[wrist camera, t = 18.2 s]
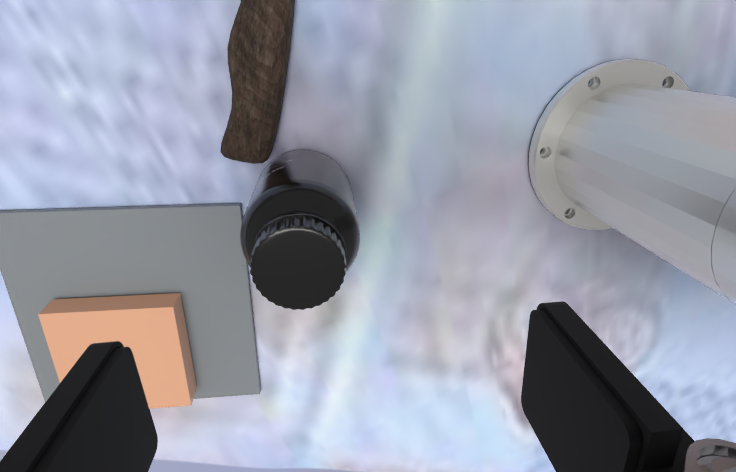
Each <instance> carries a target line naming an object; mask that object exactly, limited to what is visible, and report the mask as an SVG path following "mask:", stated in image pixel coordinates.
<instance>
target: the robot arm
mask: <svg viewBox="0 0 736 472" xmlns="http://www.w3.org/2000/svg"><path fill="white" fill-rule="evenodd" d="M589 80H590V83H589V85H588V82H589ZM542 148H543V150H542V152H541V153H540V150H541V149H542ZM529 173H530V178H531V183H532V186H533V188H534V190H535V193H536V195H537V197H538V199H539V200H540V201H541V203H542V204H543V205H544V207H545V208H546V209H547V210H548V211H550V212H551V213H552V214H553V215H554V216H556V217H557V218H558V219H560V220H561V221H563V222H565V223H567V224H569V225H572V226H575V227H577V228H582V229H588V230H605V229H610V228H614V229H615V230H617V231H619V232H620V233H622V234H623V235H625V236H627V237H628V238H630V239H631V240H633V241H635V242H636V243H638V244H639V245H641V246H643V247H644V248H646V249H647V250H649V251H651V252H652V253H654V254H655V255H657V256H659V257H660V258H662V259H663V260H665V261H667V262H668V263H670V264H671V265H673V266H675V267H676V268H678V269H679V270H681V271H683V272H684V273H686V274H687V275H689V276H691V277H692V278H694V279H695V280H697V281H699V282H700V283H702V284H704V285H705V286H707V287H708V288H710V289H712V290H713V291H715V292H716V293H718V294H720V295H721V296H723V297H725V298H726V299H728V300H730V301H731V302H733V303H734V304H736V97H730V96H722V95H715V94H708V93H700V92H693V91H690V90H689V88H688V86H687V85H686V84H685V83H684V82H683V80H682V79H681V78H680V77H679V76H678V75H677V74H676V73H674V72H673V71H672V70H670V69H669V68H667V67H666V66H663V65H660V64H658V63H655V62H652V61H645V60H637V59H620V60H615V61H610V62H605V63H602V64H600V65H597V66H595V67H593V68H590V69H588V70H586V71H585V72H583V73H581V74H580V75H578V76H577V77H575V78H574V79H572V80H571V81H570V82H569V83H568V84H567V85H565V86H564V87H563V88H562V89H561V90H560V91H559V92H558V93H557V94H556V96H555V97H554V98H553V99H552V101H551V102H550V103H549V104H548V106H547V107H546V109H545V111H544V112H543V114H542V116H541V118H540V119H539V121H538V123H537V126H536V129H535V131H534V134H533V137H532V141H531V146H530V152H529ZM521 402H522V408H523V411H524V413H525V415H526V417H527V419H528V421H529V423H530V424H531V426H532V428H533V430H534V432H535V434H536V436H537V437H538V439H539V441H540V443H541V445H542V447H543V448H544V450H545V452H546V454H547V456H548V458H549V460H550V461H551V463H552V465H553V467H554V469H555V471H556V472H736V443H733V442H729V441H725V440H721V439H708V438H707V439H702V440H697V441H694V440H693V439H692V438H691V437H690V436H689V435H688V434H687V433H686V432H685V430H684V429H683V428H682V427H681V426H680V425H679V424H678V423H677V422H676V420H675V419H674V418H673V417H672V416H671V415H670V414H669V413H668V412H667V411H666V410H665V409H664V408H663V406H662V405H661V404H660V403H659V402H658V401H657V400H656V399H655V398H654V397H653V396H652V395H651V393H650V392H649V391H648V390H647V389H646V388H645V387H644V386H643V385H642V384H641V383H640V382H639V381H638V379H637V378H636V377H635V376H634V375H633V374H632V373H631V372H630V371H629V370H628V369H627V368H626V367H625V365H624V364H623V363H622V362H621V361H620V360H619V359H618V358H617V357H616V356H615V355H614V354H613V353H612V351H611V350H610V349H609V348H608V347H607V346H606V345H605V344H604V343H603V342H602V341H601V340H600V339H599V337H598V336H597V335H596V334H595V333H594V332H593V331H592V330H591V329H590V328H589V327H588V326H587V325H586V323H585V322H584V321H583V320H582V319H581V318H580V317H579V316H578V315H577V314H576V313H575V312H574V311H573V309H572V308H571V307H570V306H569V305H568V304H567V303H565V302H552V303H541V304H539V305H538V307H537V310H533V311H532V312H531V314H530V321H529V330H528V339H527V349H526V358H525V367H524V376H523V385H522V395H521ZM157 442H158V440H157V433H156V430H155V426H154V423H153V420H152V416H151V413H150V410H149V406H148V403H147V400H146V396H145V393H144V390H143V386H142V383H141V379H140V376H139V373H138V369H137V366H136V363H135V359H134V356H133V353H132V350H131V349H130V348H129V347H124V346H123V344H122V343H121V342H119V341H114V342H103V343H93V344H90V345H89V346H88V347H87V349H86V350H85V351H84V353H83V354H82V355H81V357H80V358H79V359H78V360H77V362H76V363H75V364H74V366H73V367H72V368H71V370H70V371H69V372H68V374H67V375H66V376H65V377H64V379H63V380H62V381H61V383H60V384H59V385H58V387H57V388H56V389H55V391H54V392H53V393H52V395H51V396H50V397H49V398H48V400H47V401H46V402H45V404H44V405H43V406H42V408H41V409H40V410H39V412H38V413H37V414H36V415H35V417H34V418H33V419H32V421H31V422H30V423H29V425H28V426H27V427H26V429H25V430H24V431H23V432H22V434H21V435H20V436H19V438H18V439H17V440H16V442H15V443H14V444H13V446H12V447H11V448H10V450H9V451H8V452H7V453H6V455H5V456H4V457H3V459H2V460H1V461H0V472H148V470H149V468H150V465H151V462H152V460H153V458H154V455H155V453H156V450H157Z"/></svg>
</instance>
